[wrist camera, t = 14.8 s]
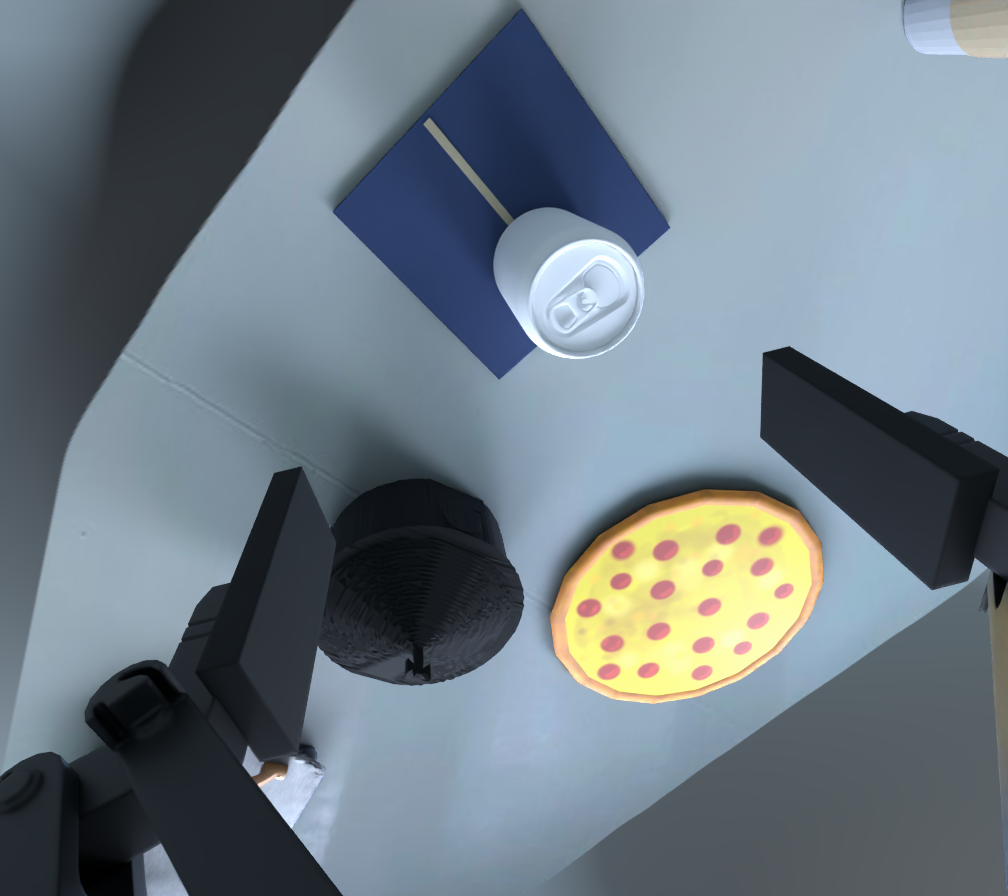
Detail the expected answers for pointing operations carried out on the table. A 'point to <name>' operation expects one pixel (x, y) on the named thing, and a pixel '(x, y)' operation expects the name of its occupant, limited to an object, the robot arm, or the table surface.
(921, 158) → the table surface
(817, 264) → the table surface
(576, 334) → the beverage can
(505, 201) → the napkin
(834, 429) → the robot arm
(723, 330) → the table surface
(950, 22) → the coffee cup
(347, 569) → the black round tub
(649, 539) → the pizza
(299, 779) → the serving tray
